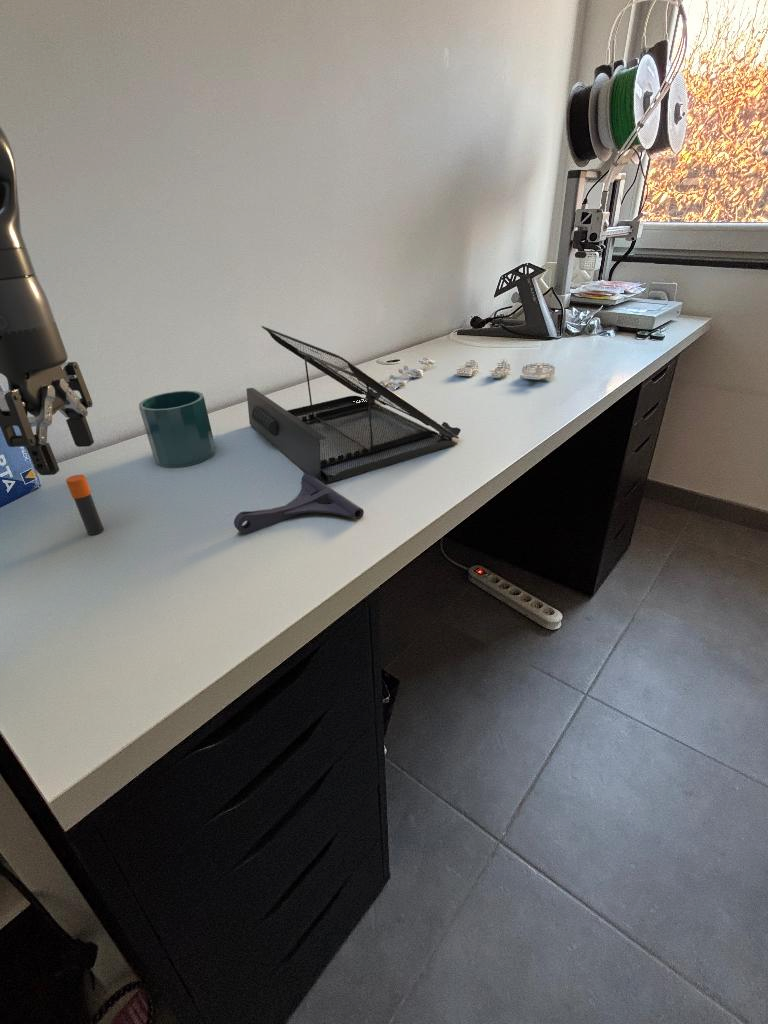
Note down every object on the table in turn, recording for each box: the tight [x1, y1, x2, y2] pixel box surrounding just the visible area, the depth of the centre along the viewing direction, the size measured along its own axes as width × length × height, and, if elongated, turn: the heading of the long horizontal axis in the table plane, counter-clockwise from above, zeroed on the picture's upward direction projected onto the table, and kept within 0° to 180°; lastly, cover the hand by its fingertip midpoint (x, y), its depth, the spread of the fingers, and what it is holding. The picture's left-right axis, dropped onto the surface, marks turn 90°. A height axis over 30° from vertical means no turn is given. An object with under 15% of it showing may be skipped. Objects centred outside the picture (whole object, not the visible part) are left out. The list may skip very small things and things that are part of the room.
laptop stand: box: [245, 325, 462, 485], centre depth 93 cm, size 33×28×18 cm
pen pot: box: [138, 390, 217, 469], centre depth 90 cm, size 10×10×10 cm
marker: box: [65, 473, 105, 536], centre depth 69 cm, size 2×2×8 cm
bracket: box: [233, 473, 365, 535], centre depth 71 cm, size 14×15×3 cm
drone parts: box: [379, 357, 556, 391], centre depth 121 cm, size 23×35×3 cm, turn 60°
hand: (68, 458), depth 66 cm, fingers open, 8 cm apart
